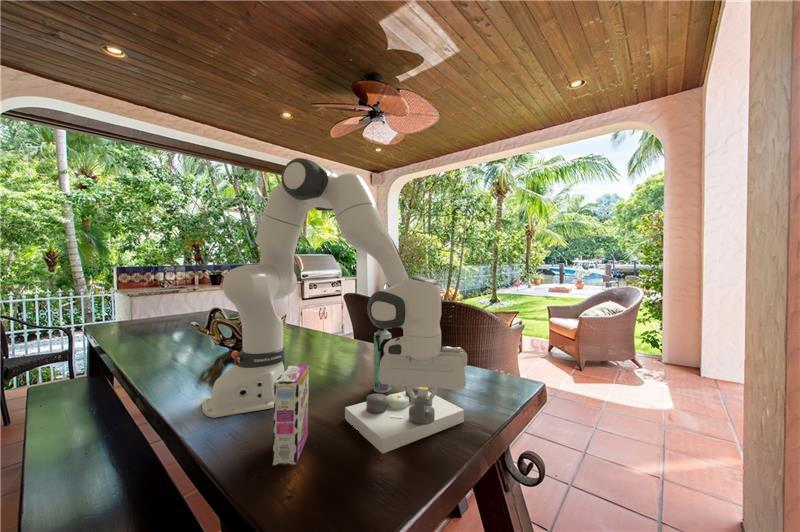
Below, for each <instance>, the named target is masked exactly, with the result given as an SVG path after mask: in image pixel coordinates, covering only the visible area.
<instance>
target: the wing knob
mask: <svg viewBox="0 0 800 532" xmlns="http://www.w3.org/2000/svg"><path fill="white" fill-rule="evenodd" d="M428 392H429V387H419V391H418V395H417V398H416V401H415V405H413V406H411V407H410V408H409V420H410V421H411V422H412V423H414V424H418V425H427V424H431V423H432V422H434V420H435V410H434V408H433V407H431V406H426V396H428Z"/></svg>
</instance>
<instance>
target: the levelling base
mask: <svg viewBox="0 0 800 532" xmlns="http://www.w3.org/2000/svg"><path fill="white" fill-rule="evenodd" d="M412 390H413V392H414V394H415V395H418V391H419V387H416V386H413V389H412ZM431 393H432V392H431V391H428V396H430V395H431ZM411 406H413V405H411V397H410V396H409V394H408V392H407V390H406V389H405V390H403V391H400V392H397V393H391V394H388V395H386V394H384V393H372V394H368V395H367V396H366V401H364V402H359V403H356V404H353V405H349V406H346V407H344V420H345V419H346V420H345V421H346V422H348V423H349V425H351V426H352V425H353V426H352V427H353V429H355V430H358V431H359V434H361V435H362V436H363V437H364V438H365V439H366V440H367V441H368V442H369V443H371V444H372V445H373V446H374V447H375V449H377V450H378V451H379V452H380V453H381V454H386V453H388V452H391V451H393V450H395V449H399V448H401V447H403V446H406V445H409V444H411V443H413V442H416V441H419V440H421V439H424V438H426V437H429V436H431V435H434V434H436V433H439V432H442V431H444V430H447V429H450V428H452V427H454V426H456V425H459V424H462V423H464V422H465V409H463V408H462V407H459V406H458V405H455V404H454V403H452V402H450V401H448V400H445V398H444V399H443V398H442V397H440V396H438V395H437V394H435V396H434V398H433V403H432V406H431V407H433V408H434V410H435V420H434V422H432V423H431V424H427V425H418V424H414V423H412V422H411V421H410V420H409V408H410V407H411ZM358 431H357V432H358Z"/></svg>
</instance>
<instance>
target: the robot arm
mask: <svg viewBox="0 0 800 532" xmlns="http://www.w3.org/2000/svg"><path fill="white" fill-rule="evenodd" d="M312 209H315V210H316V211H328V212H329V211H333V212H334V215H335V218H336V221H337V225H338V228H339V230H340V232H341V234H342V236H343V238H344V239H345V241H346V242H347V243H348V245H351V246H352V247H353V248H355V249H358V250H359V251H362V252H364V253H366V254H368V255H369V256H371V258H373V259H374V260H376V262H377V263H378V264H379V266H380V268H381V270H382V272H383V275H384V276H385V279H386V281H387V283H388V285H389V287H386V288H384V289H381V290H378V291H375V292H374V293H373V294H371V296H370V297H369V299H368V302H367V306H366V309H367V310H366V311H367V315H368V318H369V320H370V323H372V325H374V326H375V327H377V328H379V329H380V328H383V329H387V330H388V329H393V328H401V329H402V330H403V336H399V337H395V338H392V339H391V340H389V341H388V342H387V343H386V344H385V346H384V353H385V354H384V356H383V357H382V359H381V361H380V367H379V381H380V382H381V383H382V384H389V385H391V386H403V387H405V391H406V390H407V392H408V394H409V396H410V397H411V405H415V401H416V398H417V395H415V394H414V392H413V390H412V389H413V386H416V387H428V388H430V393H431V395H430V396H426V406H432V403H433V398H434V396H435V395H437V393H438V389H445V390H458V391H459V390H462V391H463V390H464V389H465V388H466V385H467V381H466V370H465V369H466V368H465V367H466V366H467V364H468V353H467V351H466V350H464V349H463V348H461V347H460V346H459V347H458V346H457V347H456V346H455V347H452V346H443V345H442V329H441V325H440V323H441V317H442V296H441V295H442V294H441V288H440V285H439V283H438V281H437V280H435V279H433V278H431V277H428V276H422V275H421V276H420V275H410V273H409V271H408V269H407V267H406V264H405V263H404V260H403V257H402V256H401V253H400V251H399V250H398V247H397V245H396V244H395V242H394V240H393V238H392V237H391V235H390V233H389V231H388V230H387V227H386V225H385V223H384V221H383V218H382V217H381V214H380V211H379V209H378V206H377V203H376V200H375V198H374V197H373V194H372V192H371V190H370V189H369V186H368V185H367V183H366V182H365V179H364V178H362V177H361V176H360V175H359V174H357V173H353V172H352V173H351V172H348V173H343V174H341V175H338V174H337V173H335V172H334V171H333V170H331V169H330V168H328V167H325V166H324V165H320V164H318V163H316V162H315V161H313V160H311V159H308V158H303V157H302V158H301V157H296V158H293V159H291V160H290V161H289V162H287V163H286V165H285V166H284V168H283V170H282V173H281V182H279V183H278V184H276V186H275V187H274V189H273V190H272V193H271V194H270V197H269V199H268V201H267V203H266V205H265V209H264V211H263V215H262V218H261V221H260V224H259V228H258V231H257V234H256V237H255V242H256V244H257V246H258V247H259V249H260V250H259V251H260V260H259V263H258V264H244V265H240V266H237V267H234V268H231V269H230V270H229V271H227V272H226V274H225V275H224V277H223V280H222V291H223V294H224V296H225V297H226V298H227V300H228V301H230V302H231V303H232V304H233V305H234V306H235V309H236V310H237V313H238V315H239V318H240V321H241V322H240V324H241V332H242V335H241V336H242V337H241V338H242V350H240V351H238V350H232V352H231V354H230V355H231V357H232V359H233V360H234V365H233V366H231V368H229V369H228V370H227V371H225V372H224V373H223V374H221V375H220V376H219V377H218V378H217V379H216V380H215V382H214V383H213V386H212V390H211V394H210V395H209V396H207V397H205V398H204V399H203V401H202V404H201V410H202V414H204V416H206V417H209V418H219V417H220V418H221V417H225V416H232V415H237V414H244V413H250V412H256V411H262V410H268V409H274V382H275V381H276V380H277V379H278V378H279V377H280V375H281V374H282V373H283V372H284V371H285V364H286V350H285V349H286V348H285V346H284V321H283V319H282V318H281V317H280V316H279V315H278V314H277V311H276V309H275V304H274V303H275V302H274V301H275V300H280V299H284V298H285V297H287V296H289V295H290V294H292V293H293V292H294V291H295V289H296V287H297V284H298V279H297V275H296V272H295V269H294V265H295V263H294V262H295V254H296V248H297V245H298V242H299V238H300V236H301V233H302V229H303V227H304V226H303V225H304V224H305V223H304V222H305V219H306V215H307V214H308V212H310V210H312Z"/></svg>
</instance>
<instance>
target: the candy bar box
mask: <svg viewBox="0 0 800 532" xmlns="http://www.w3.org/2000/svg"><path fill="white" fill-rule="evenodd" d="M309 386H310V365H288V366H287V367H286V369H284V372H283V373H282V374H281V375H280V377H279V378H278V379H277V380H276V381H275V382H274V407H273V429H272V431H273V432H272V433H273V436H272V437H273V439H272V440H273V441H272V466H274V467H275V466H276V465H281V466H296V465H298V462H299V460H300V457H301V455H302V451H303V448H304V446H305V444H306V442H307V439H308V436H309V395H310V393H309V391H310V387H309Z"/></svg>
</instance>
